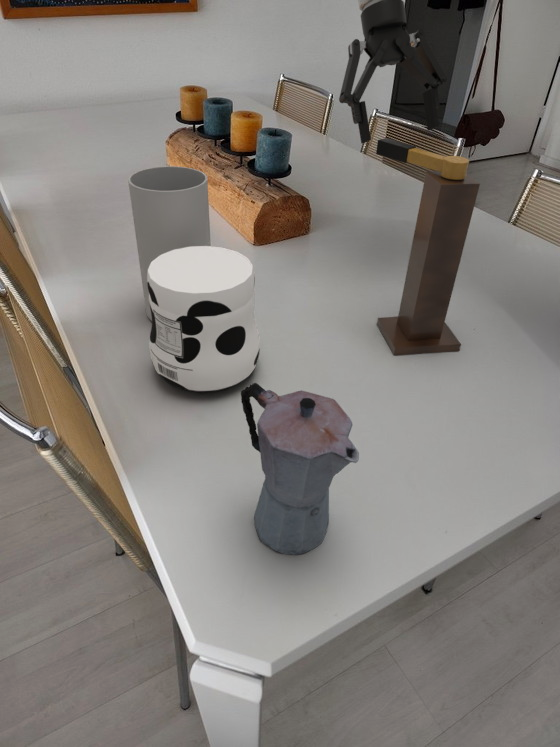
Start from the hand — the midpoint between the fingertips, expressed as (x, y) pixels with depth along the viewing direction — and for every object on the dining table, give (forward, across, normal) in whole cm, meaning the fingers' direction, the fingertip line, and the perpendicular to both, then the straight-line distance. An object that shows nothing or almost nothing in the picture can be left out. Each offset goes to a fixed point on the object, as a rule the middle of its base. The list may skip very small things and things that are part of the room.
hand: (400, 135), depth 100 cm
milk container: (+31, +46, +11) cm, 56 cm away
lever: (+7, +6, +17) cm, 19 cm away
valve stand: (+35, +8, +10) cm, 37 cm away
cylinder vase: (+23, +47, -6) cm, 52 cm away
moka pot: (+45, +43, +40) cm, 74 cm away
